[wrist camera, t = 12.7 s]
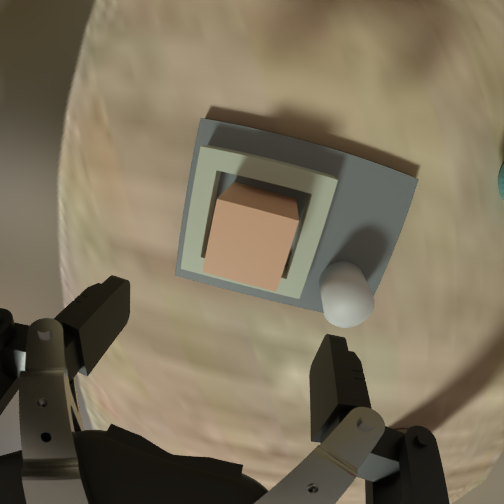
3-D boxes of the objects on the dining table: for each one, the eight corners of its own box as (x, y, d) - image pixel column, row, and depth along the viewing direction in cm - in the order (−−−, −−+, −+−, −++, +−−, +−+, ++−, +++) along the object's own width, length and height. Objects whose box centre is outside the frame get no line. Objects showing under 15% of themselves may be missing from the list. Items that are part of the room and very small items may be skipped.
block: (296, 198, 23) (298, 220, 18) (279, 255, 25) (276, 291, 20) (234, 181, 23) (216, 198, 18) (220, 239, 25) (202, 271, 20)
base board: (413, 176, 22) (440, 189, 17) (359, 314, 28) (370, 348, 23) (204, 118, 22) (183, 116, 18) (179, 269, 28) (159, 297, 23)
